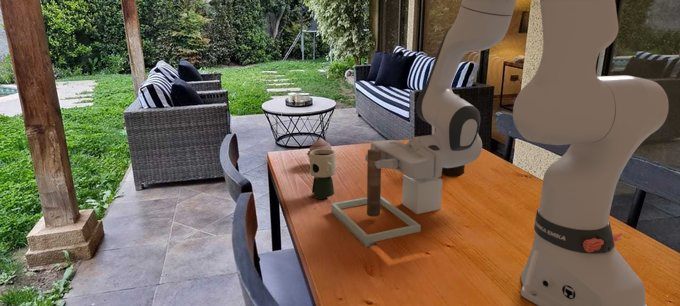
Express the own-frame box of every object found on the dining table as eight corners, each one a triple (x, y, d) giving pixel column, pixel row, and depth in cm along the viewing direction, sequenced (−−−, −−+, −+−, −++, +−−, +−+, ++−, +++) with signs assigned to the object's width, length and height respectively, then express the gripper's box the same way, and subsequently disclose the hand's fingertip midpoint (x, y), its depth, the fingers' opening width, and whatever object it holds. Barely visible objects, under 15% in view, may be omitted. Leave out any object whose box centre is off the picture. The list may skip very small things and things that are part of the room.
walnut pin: (382, 215, 109) (383, 151, 105) (370, 217, 108) (371, 153, 103) (376, 210, 112) (377, 148, 107) (364, 212, 111) (365, 149, 106)
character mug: (304, 192, 131) (302, 148, 127) (326, 187, 134) (325, 145, 130) (319, 205, 121) (318, 159, 117) (343, 200, 124) (342, 155, 120)
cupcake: (323, 160, 159) (323, 132, 156) (340, 166, 152) (340, 138, 149) (301, 165, 153) (300, 137, 151) (317, 172, 146) (317, 143, 144)
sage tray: (420, 235, 105) (420, 225, 104) (366, 247, 99) (366, 237, 99) (379, 203, 122) (379, 195, 122) (331, 212, 117) (331, 203, 116)
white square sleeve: (440, 212, 116) (442, 179, 114) (416, 217, 114) (418, 184, 111) (424, 202, 123) (426, 171, 120) (401, 206, 120) (403, 175, 117)
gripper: (400, 132, 119) (352, 137, 114) (446, 152, 101) (392, 160, 96) (399, 155, 121) (352, 161, 116) (445, 179, 103) (392, 188, 98)
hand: (371, 161), depth 106 cm, fingers closed on walnut pin, 3 cm apart
